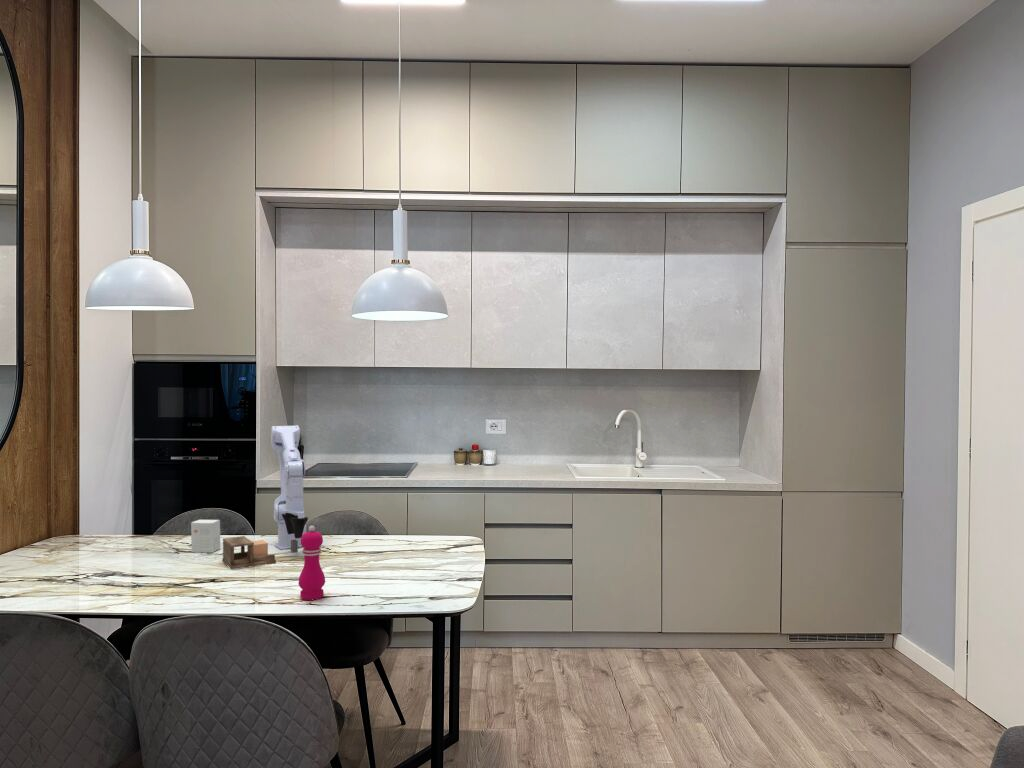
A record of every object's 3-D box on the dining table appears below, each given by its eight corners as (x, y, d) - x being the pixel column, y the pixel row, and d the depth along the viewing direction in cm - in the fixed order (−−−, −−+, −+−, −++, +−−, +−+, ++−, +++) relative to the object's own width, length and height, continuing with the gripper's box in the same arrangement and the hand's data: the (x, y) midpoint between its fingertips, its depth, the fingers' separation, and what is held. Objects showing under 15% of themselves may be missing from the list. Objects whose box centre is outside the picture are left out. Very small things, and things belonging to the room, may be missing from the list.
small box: (220, 549, 266) (220, 519, 266) (213, 553, 261) (212, 522, 261) (199, 548, 267) (199, 519, 267) (191, 552, 261) (190, 522, 261)
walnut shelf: (265, 555, 257) (264, 533, 257) (275, 563, 247) (275, 540, 247) (222, 561, 249) (222, 538, 249) (231, 569, 239) (231, 545, 239)
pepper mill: (301, 593, 213) (301, 523, 213) (327, 593, 213) (326, 522, 213) (296, 601, 206) (295, 528, 205) (323, 600, 206) (322, 528, 206)
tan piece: (293, 550, 259) (293, 536, 259) (299, 553, 254) (299, 539, 254) (247, 556, 250) (247, 541, 250) (252, 560, 245) (252, 545, 245)
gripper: (276, 494, 260) (276, 533, 260) (289, 500, 248) (289, 541, 248) (296, 492, 264) (296, 531, 264) (310, 498, 252) (310, 538, 252)
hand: (294, 535), depth 256 cm, fingers open, 7 cm apart
